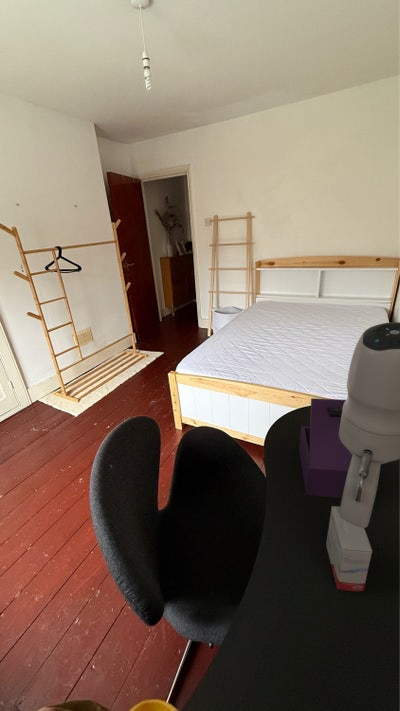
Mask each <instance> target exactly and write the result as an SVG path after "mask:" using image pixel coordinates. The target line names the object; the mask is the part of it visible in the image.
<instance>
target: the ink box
mask: <svg viewBox="0 0 400 711" xmlns="http://www.w3.org/2000/svg"><path fill="white" fill-rule="evenodd" d="M340 506H341V505H338V506H336V505H332V506H331V510H330V517H329V522H328V529H327V536H326V542H325V543H326V550H327V554H328V558H329V562H330V565H331V566H330V567H331V571H332V574H333V578H334V582H335V586H336V588H337V590H339V591H348V592H364V591H365V586H366V581H367V576H368V572H369V567H370V562H371V559H372V554H373V549H372V546H371V543H370V540H369V538H368V535H367V532H366V530H365V529H366V528H362V527H358V526H356V525H353V524H351V523H349V522H347V521H345V520H343V519H342V518H341V517H340V514H339V511H340Z"/></svg>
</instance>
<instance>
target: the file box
mask: <svg viewBox="0 0 400 711" xmlns="http://www.w3.org/2000/svg"><path fill="white" fill-rule="evenodd" d="M300 427H301V428H300V437H299V445H298V446H299V447H298V451H299V458H300V465H301V470H302V476H303V484H304V491H305V495H306V496H312V497H322V498H331V499H341V500H342V496H343V491H344V486H345V482H346V477H347V473H348V471H337V470H325V469H313V468H309V452H310V426H305V425H301V426H300Z"/></svg>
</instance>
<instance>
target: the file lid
mask: <svg viewBox="0 0 400 711" xmlns="http://www.w3.org/2000/svg"><path fill="white" fill-rule="evenodd" d="M345 401H346V399H342V398H341V399H340V398H339V399H337V398H313V397H311V398H310V419H309V420H310V421H309V422H310V423H309V427H310V452H309V468H313V469H325V470H337V471H348V470H349V466H350V462H351V459H352V454H351V453H350V452H349V450H348V449H347V448H346V447H345V446H344V445H343V443H342V442H341V440H340V438H339V428H340V422H341V416H342V409H343V405H344V403H345Z"/></svg>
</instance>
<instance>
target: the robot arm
mask: <svg viewBox="0 0 400 711" xmlns="http://www.w3.org/2000/svg"><path fill="white" fill-rule="evenodd" d="M349 363H350V364H349V367H348V372H347V378H346V391H347V397H346V399H345V400H346V401H345V403H344V405H343V409H342V416H341V422H340V428H339V438H340V440H341V442H342V443H343V445H344V446H345V447H346V448H347V449H348V450H349V452H350V453H351V454H352V459H351V462H350V466H349V470H348V473H347V477H346V482H345V486H344V491H343V496H342V499H341V501H340V505H339V506H340V511H339V514H340V517H341V518H342V519H343V520H345V521H347V522H349V523H351V524H353V525H356V526H358V527H362V528H364V529H366V528H367V527H369V525H370V521H371V516H372V512H373V508H374V505H375V500H376V496H377V491H378V486H379V479H380V472H381V468H382V467H381V466H382V465H383V464H387V463H389V462H390V463H391V462H395V461H398V460H400V322H398V321H397V322H393V321H392V322H383V323H379V324H375V325H372V326H370V327H368V328H367V329H365V330H364V331H363V333H362V334H361V335H360V337H359V339H358V341H357V343H356V344H355V347H354V350H353V353H352V356H351V360H350V362H349Z"/></svg>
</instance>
